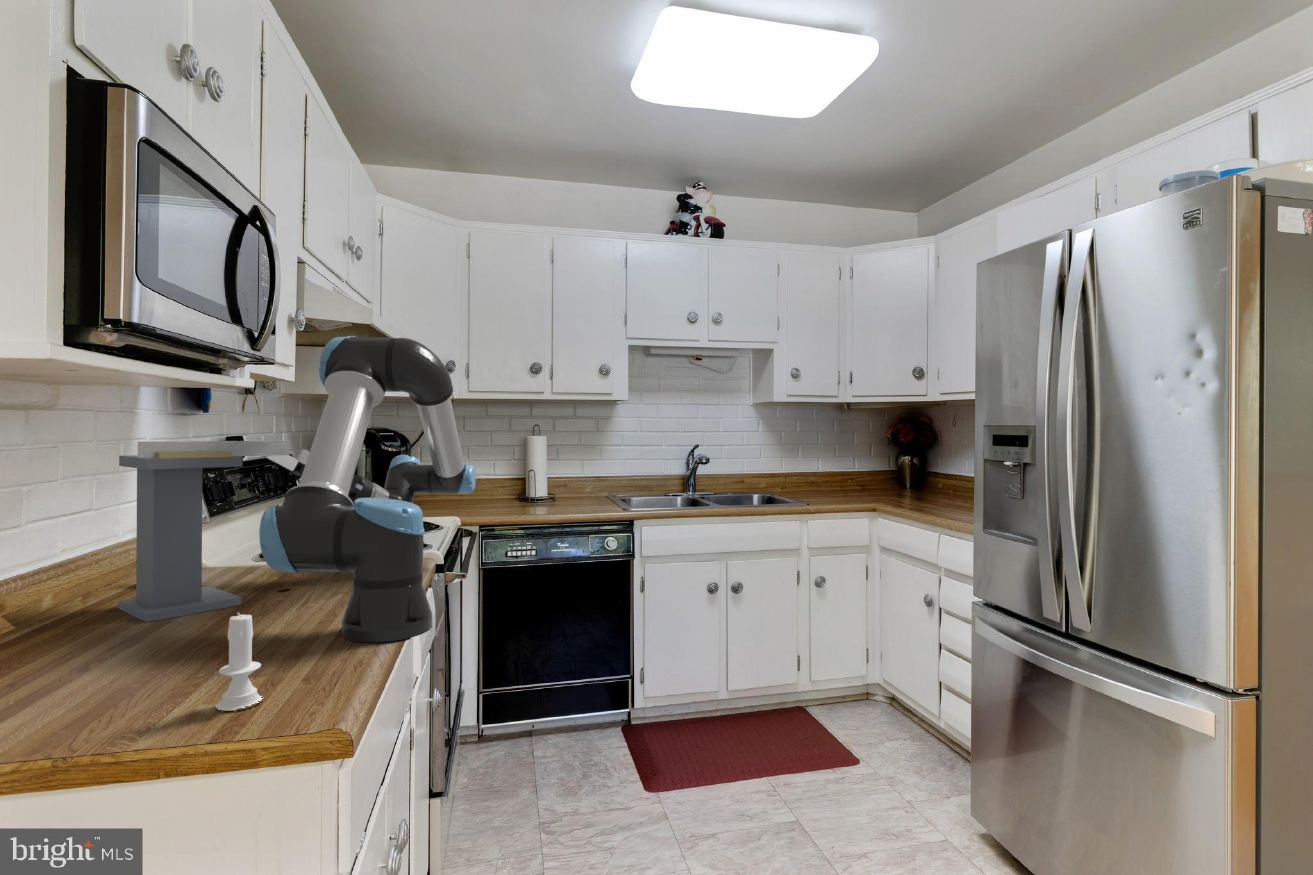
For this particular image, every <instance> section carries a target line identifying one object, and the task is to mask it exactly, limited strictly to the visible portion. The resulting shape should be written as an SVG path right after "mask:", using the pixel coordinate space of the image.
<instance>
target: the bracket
mask: <svg viewBox="0 0 1313 875" xmlns="http://www.w3.org/2000/svg"><path fill="white" fill-rule="evenodd" d="M199 457H232V452H175V453H158V458H199Z"/></svg>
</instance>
